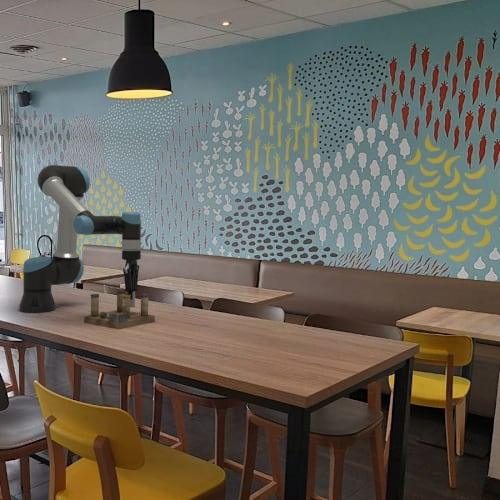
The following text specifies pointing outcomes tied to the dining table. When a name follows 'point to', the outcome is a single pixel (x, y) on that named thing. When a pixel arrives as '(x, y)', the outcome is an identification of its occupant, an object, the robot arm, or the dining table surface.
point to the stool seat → (119, 319)
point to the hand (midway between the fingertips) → (131, 307)
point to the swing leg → (124, 309)
